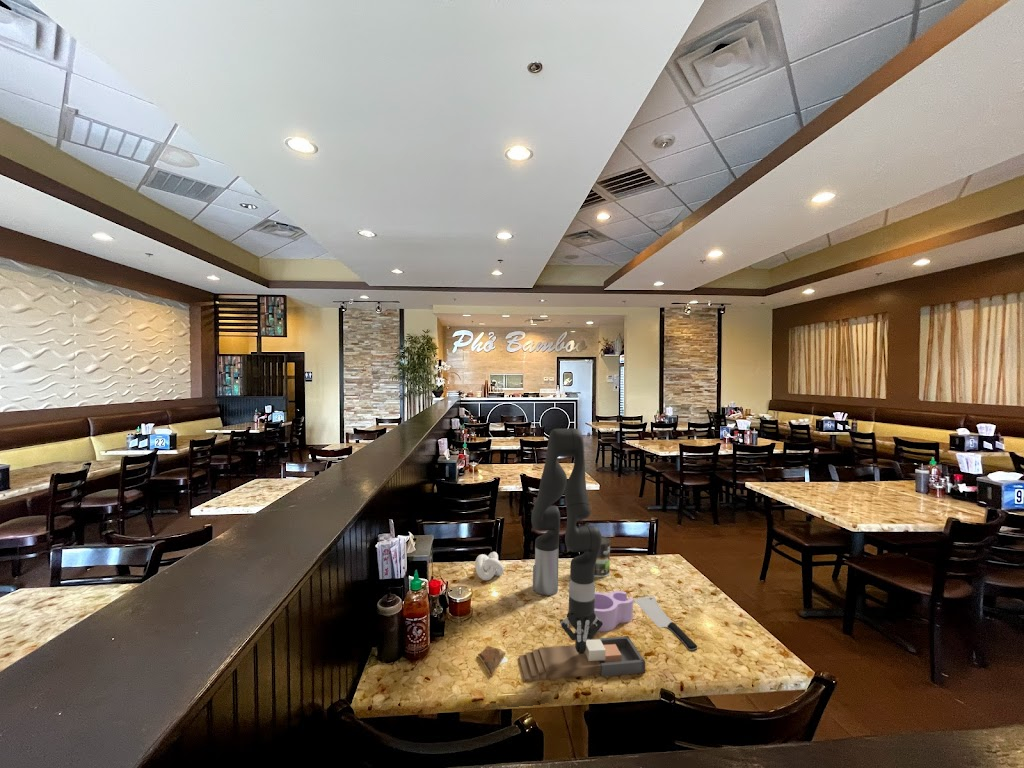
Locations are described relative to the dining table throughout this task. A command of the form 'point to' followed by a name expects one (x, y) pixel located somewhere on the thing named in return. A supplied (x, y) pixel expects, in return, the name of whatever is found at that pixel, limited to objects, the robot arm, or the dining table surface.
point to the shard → (491, 658)
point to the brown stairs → (532, 666)
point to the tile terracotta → (612, 654)
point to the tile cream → (595, 650)
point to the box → (629, 661)
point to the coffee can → (603, 559)
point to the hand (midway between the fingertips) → (580, 652)
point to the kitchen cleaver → (663, 619)
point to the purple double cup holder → (613, 609)
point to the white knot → (488, 566)
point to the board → (567, 662)
